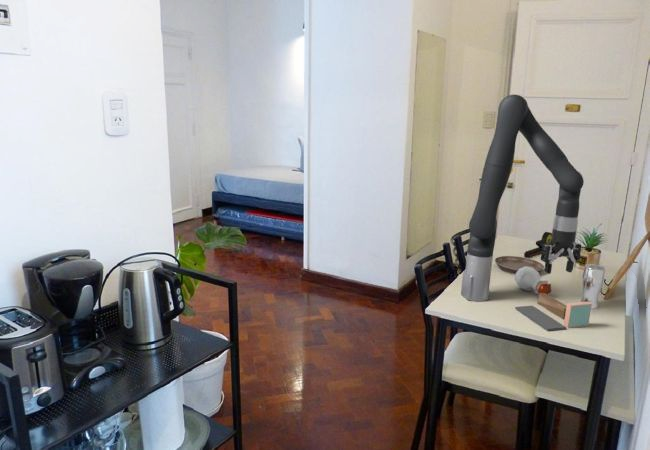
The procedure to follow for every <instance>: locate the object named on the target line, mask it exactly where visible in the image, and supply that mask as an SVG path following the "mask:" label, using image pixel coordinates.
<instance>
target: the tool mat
mask: <svg viewBox="0 0 650 450" xmlns="http://www.w3.org/2000/svg"><path fill="white" fill-rule="evenodd" d="M514 309H515V310H516V311H517V312H519V313H520V314H522V315H523V316H524V317H526V318H527V319H529V320H530V321H532V322H533V323H535V324H536V325H537V326H538V327H541V328H542V329H544V330H545V331H546V332H553V331H565V330H567V327H566V326H564V324H562V323H560V322H559V321H557V320H556V319H554V317H551V316H550V315H548V314H546V313H545V312H544V311H542V310H540V309H538V308H537V307H536V306H534V305H523V306H522V305H521V306H515V308H514Z"/></svg>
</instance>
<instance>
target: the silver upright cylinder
mask: <svg viewBox="0 0 650 450" xmlns="http://www.w3.org/2000/svg"><path fill="white" fill-rule="evenodd" d="M605 275H606V267H604V266H601V265H599V264H593V263H589V264H588V263H587V264H584V269H583V273H582V277H581V278H582V280H581V284H582V285H581V287H582V290H581V291H582V295H581V298H580V302H589V303H591V304H592V306H591V309H594V310H595V309H597V308H599V297H600V295H601V291H602V288H603V286H604V283H605V282H604V281H605Z"/></svg>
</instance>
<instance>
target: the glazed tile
mask: <svg viewBox="0 0 650 450" xmlns="http://www.w3.org/2000/svg"><path fill="white" fill-rule="evenodd" d="M566 306H567V307H566V313H565V319H563V320H564V322H563V325H564V326H565V327H566V329H567V328H568V329H570V328H580V327H589V324H590V317H591V310H592V308H591V306H592V304H591V303H589V302H579V301H578V302H576V301H575V302H568V303H566Z"/></svg>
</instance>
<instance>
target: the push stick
mask: <svg viewBox="0 0 650 450" xmlns="http://www.w3.org/2000/svg"><path fill="white" fill-rule="evenodd" d="M537 305H539V306H541V307H542V308H544V309H545V310H547V311H549V312H550V313H551V314H553V315H554V316H557V317H559V319H561V320H565V313H566V307H567V304H564V303H563V302H561V301H559V300H558V299H557V298H554V297H553V296H551V295H549V294H548V295H547V294H546V293H539V295H538V299H537Z"/></svg>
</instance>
